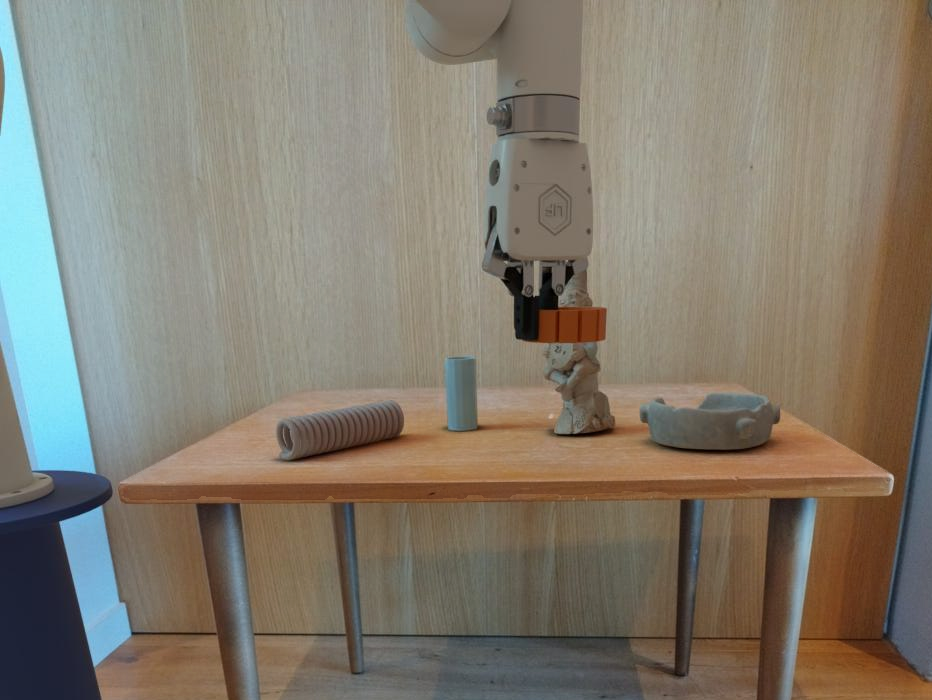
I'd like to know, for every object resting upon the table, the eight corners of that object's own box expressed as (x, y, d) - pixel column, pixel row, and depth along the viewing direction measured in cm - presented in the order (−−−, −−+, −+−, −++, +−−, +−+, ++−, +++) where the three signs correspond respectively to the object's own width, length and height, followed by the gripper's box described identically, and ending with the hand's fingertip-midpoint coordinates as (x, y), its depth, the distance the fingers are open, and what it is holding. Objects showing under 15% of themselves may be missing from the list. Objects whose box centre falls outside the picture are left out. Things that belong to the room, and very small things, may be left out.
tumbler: (457, 432, 111) (454, 360, 107) (442, 427, 114) (439, 358, 111) (483, 428, 113) (481, 357, 109) (467, 424, 116) (465, 355, 112)
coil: (382, 399, 109) (265, 420, 97) (407, 398, 106) (289, 419, 94) (387, 436, 111) (273, 460, 99) (412, 436, 108) (297, 461, 96)
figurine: (572, 423, 115) (575, 261, 107) (626, 428, 110) (633, 259, 101) (533, 433, 109) (532, 263, 100) (587, 440, 104) (591, 261, 95)
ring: (554, 344, 81) (555, 311, 80) (506, 339, 88) (506, 308, 87) (621, 340, 85) (623, 308, 84) (570, 335, 92) (571, 305, 91)
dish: (624, 443, 101) (626, 400, 99) (697, 427, 109) (700, 387, 107) (727, 461, 91) (731, 413, 89) (798, 442, 99) (804, 398, 97)
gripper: (487, 114, 71) (489, 346, 78) (631, 126, 78) (620, 337, 86) (443, 126, 77) (449, 341, 84) (580, 136, 84) (575, 333, 91)
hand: (535, 337), depth 85 cm, fingers closed on ring, 1 cm apart
